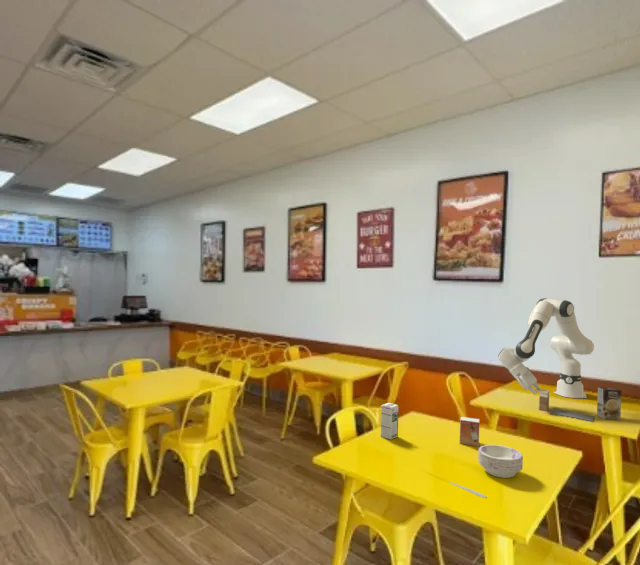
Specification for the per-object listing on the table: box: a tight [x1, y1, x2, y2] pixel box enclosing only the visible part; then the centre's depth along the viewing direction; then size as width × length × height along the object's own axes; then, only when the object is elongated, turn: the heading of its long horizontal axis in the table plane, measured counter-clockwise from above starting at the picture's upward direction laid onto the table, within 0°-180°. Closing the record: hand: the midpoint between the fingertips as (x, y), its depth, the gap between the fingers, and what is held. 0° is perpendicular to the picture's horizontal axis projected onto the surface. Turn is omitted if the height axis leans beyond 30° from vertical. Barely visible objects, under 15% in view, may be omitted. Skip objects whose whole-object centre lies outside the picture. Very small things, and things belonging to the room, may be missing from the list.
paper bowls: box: [477, 444, 524, 479], centre depth 156 cm, size 15×15×8 cm
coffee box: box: [596, 386, 623, 421], centre depth 230 cm, size 9×6×16 cm
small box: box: [459, 416, 481, 447], centre depth 185 cm, size 8×6×10 cm
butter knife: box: [449, 481, 487, 499], centre depth 147 cm, size 1×27×3 cm
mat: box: [549, 407, 596, 423], centre depth 232 cm, size 12×20×1 cm, turn 51°
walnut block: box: [538, 388, 550, 412], centre depth 241 cm, size 5×4×11 cm
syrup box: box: [380, 402, 399, 440], centre depth 190 cm, size 6×6×14 cm
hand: (537, 392), depth 243 cm, fingers open, 8 cm apart
